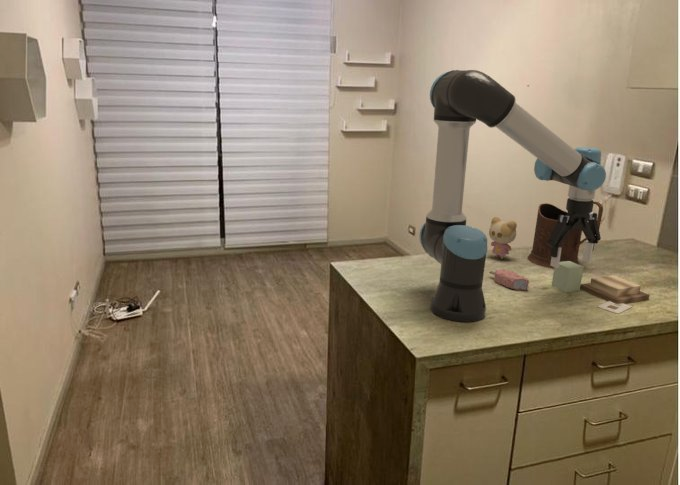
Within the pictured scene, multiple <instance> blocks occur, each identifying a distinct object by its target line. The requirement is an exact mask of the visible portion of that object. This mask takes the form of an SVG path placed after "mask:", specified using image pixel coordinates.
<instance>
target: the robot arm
mask: <svg viewBox="0 0 680 485" xmlns="http://www.w3.org/2000/svg"><path fill="white" fill-rule="evenodd" d="M429 100H430V103H431V105H432V107H433V108H434V110H433V122H434V123H435V124H436V125H437V127H438V131H437V143H436V156H435V167H434V182H433V192H432V193H433V194H432V195H433V196H432V204H431V205H432V206H431V210H430V211H429V212H427V213H426V216H425V222H424V223H423V224H422V226H421V227H420V230H419V242H420V245H421V247H422V249H424V251H425V253H426V254H427V255H428V256H430V257H431V258H433V259H434V260H435V261H436V262H437V263H439V264H440V271H439V281H438V284H437V287H436V289H435V292H434V294H433V296H432V298H431V300H430V310H431V312H432V313H433V314H434V315H436V316H437V317H440V318H442V319H444V320H449V321H455V322H463V323H471V322H477V321H480V320H482V319H484V318H485V317H486V312H487V306H486V302H485V297H484V291H483V281H484V276H485V274H484V273H485V266H486V260H487V253H488V237H487V235H486V234H485V233H484V232H483V231H482V230H481V229H478V228H476V227H472V226H470V225H467V216H466V215H465V213H464V212H463V204H464V203H463V201H464V192H465V191H464V190H465V182H466V171H467V161H468V150H469V140H470V129H471V128H472V126H474V125H475V124H476V123H477V121H479V122H481V123H483V124H485V125H486V126H487V127H488V128H492V129H493V128H497V129H498V130H499V131H501V132H502V133H504V134H505V135H506V136H507V137H508V138H510V139H511V140H513V141H514V142H515V143H517V144H518V145H519V146H521V148H523V149H524V150H526V151H527V152H529V153H530V154H532V155H533V156H534V157H535V158H536V160H535V162H534V166H533V167H534V168H533V171H534V175H535V177H536V178H537V179H538V180H540V181H546V182H549V181H555V182H558V183H561V184H564V185H568V191H567V196H568V198H567V199H566V207H565V209H566V212H568V214H567V216H564V215H559V217H558V222H557V224H556V226H555V228H554V230H553V232H552V233H551V235H550V237H549V239H548V241H547V244H548V245H551V246H552V250H551V256H552V257H551V264H550V266H553V267H555V268H559V262H560V255H561V249H562V248H560V246H561V244H562V243H563V242H564V240H565V239H566V238H567V236H568V235H569V234H570V232H571V231H573V230H574V229H578V228H581V229H582V234H583V235H584V236H585V238H587V240H586V241H585V242H584V247H583V252H582V258H581V261H582V262H583V263H584V262H585V263H587V264H591V262H592V257H593V252H594V249H595V248H594V247H595V244H598V243H599V241H601V234H600V233H601V232H600V228H598V223H597V218H598V213H597V212H593V211H594V205H595V204H594V202H595V201H594V199H595V195H596V191H597V190H598V189H599V188H601V187H602V186H603V185H604V182H605V181H606V178H607V172H606V168H605V167H604V166H603V165H601V164H602V163H601V162H602V161H601V160H602V159H601V158H602V151H601V149H599V148H597V147H589V146H588V147H586V146H579V147H575V148H573V147H572V146H571V145H570V144H568V142H566V141H564V140H563V139H562V138H561V137H560V136H558V135H557V134H556V133H555V132H553V130H551V129H549V128H548V127H547V126H545V125H544V124H543V123H542V122H541V121H539V120H538V119H537V118H535V117H534V116H533V115H532V114H530V113H529V112H528V111H527V110H525V109H524V108H523V107H522V106H520V105H519V104H518V103H517V102H516V101H517V98H516V96H515V95H514V94H512V93H511V92H510V91H508V90H507V89H506V88H505V87H504V86H502V85H501V84H500V83H499V82H497V81H496V80H495V79H493V78H492V77H491V76H490V75H488V74H486V73H484V72H482V71H479V70H476V69H468V70H463V69H462V70H460V69H454V70H453V69H451V70H450V71H449V70H448V71H446V72H443V73H442V74H439V76H438V77H436V79H435V80H434V81H433V82H432V85H431V87H430V91H429ZM568 225H569V226H568ZM552 241H553V242H552ZM557 242H558V243H557Z"/></svg>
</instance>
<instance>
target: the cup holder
mask: <svg viewBox="0 0 680 485" xmlns="http://www.w3.org/2000/svg"><path fill="white" fill-rule="evenodd" d="M593 205H596V206H597V207H598V213H597V223H598V228H599V229H600V228H601V221H602V216H603V213H604V212H603V211H604V206H603V204H601V202H598V201H594V204H593ZM567 214H568V211H565V210H563V209H561V208H560V207H557V206H555V205H554V204H551V203H547V202H546V203H540V204H539V206H538V209H537V215H536V216H537V217H536V222H535V229H534V235H533V236H534V237H533V244H532V249H531V251H530V254H529V255H528V256H527V257H526V258H527V260H528V261H529V262H530V263H531V264H534V265H536V266H540V267H543V268H548V269H553V270H554V267H553V266H550V264H551V257H552V256H551V250H552V246H551V245H548V244H547V241H548V239H549V237H550V235H551V233H552V232H553V230H554V228H555V226H556V224H557V222H558V217H559V215H564V216H567ZM568 226H569V225H568ZM582 234H583V231H582V229H581V228H578V229H574V230H573V231H571V232H570V234H569V235H568V236H567V238H566V239H565V240H564V242H563V243H562V244H561V246H560V248H562V249H561V255H560V262H564V261H571V262H573V263H576V264H578V265H581V264H580V262H579V252H580V245H582V244H584V243H585V242H586V241H588V240H587V238H586V237H585V238H583V239H582V240H581V238H582ZM552 242H553V241H552ZM557 243H558V242H557Z"/></svg>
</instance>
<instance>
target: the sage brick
mask: <svg viewBox="0 0 680 485" xmlns="http://www.w3.org/2000/svg"><path fill="white" fill-rule="evenodd" d="M584 267H585V266H583V265H581V264H580V265H578V264H576V263H573V262H571V261H564V262H559V268H555V267H554V269H553V274H552V280H551V287H552V288H555V289H557V290H559V291H562V292H563V293H571V292H578V291H581V289H580V286H581V284H582V279H583V273H584Z"/></svg>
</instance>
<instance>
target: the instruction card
mask: <svg viewBox="0 0 680 485" xmlns="http://www.w3.org/2000/svg"><path fill="white" fill-rule="evenodd" d="M597 308H598V309H602V310H604V311H607V312H611V313H614V314H616V315H619V314H621V313H623V312H625V311H628V310H629V309H631V308H633V305H629V304H628V303H626V304H624V303H621V304H615V303H613V302H611V301H606V302H604V303H601V304H600V305H598V306H597Z"/></svg>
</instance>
